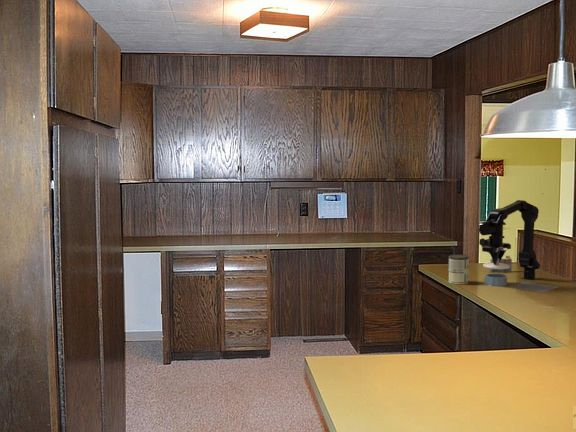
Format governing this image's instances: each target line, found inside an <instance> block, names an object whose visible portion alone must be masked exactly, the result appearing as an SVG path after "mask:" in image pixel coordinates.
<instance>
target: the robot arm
mask: <svg viewBox="0 0 576 432" xmlns="http://www.w3.org/2000/svg"><path fill="white" fill-rule="evenodd" d="M517 211H518V212H520V213H521V215H520V216H521V219H522V221H523V225H524V226H523V239H522V240H523V243H522V244H523V245H522V249H521V251H519V252H518V262H519V267H521V268H523V277H521V279H523V280H530V281H533V280H538V277H536V270H540V267H541V264H540V263H539V261H538V260H537V254H536V252H535V250H534V240H535V239H534V236H535V235H534V233H535V222H536V221H537V220H538V218H539V212H540V211H539V207H537V206H536V205H533V204H531V203H529V202H527V201H526V200H523V199H521V200H520V199H517V200H516V201H514V202H512V203H510V204H507V205H506V206H504V207H500V208H492V209H491V210H490V211H489V213H488V215H487V216H486V217H487V218H486V219H485V221H482V223H481V224H480V226H479V228H478V233H479V234H480V235H481V236H488V238H486V239H485V238H480V239H479V241H478V242H479V245H480V246H481V251H482V252H485V253H489V254H490V257H491V259H492V260H493V264H495V265H496V263H497V260H498V258H499V263H500V261H501V259H503V257H504V255H505V254H506V252H507V250H511V249H512V244H510V243H509V242H508V243H507V242H504V241H503V239H505V235H504V226H506V225H507V223H506V222H505V220H506V219H508V216H509V215H512V214H514V213H516V212H517Z"/></svg>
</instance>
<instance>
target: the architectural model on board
mask: <svg viewBox="0 0 576 432" xmlns="http://www.w3.org/2000/svg"><path fill="white" fill-rule="evenodd" d="M512 261H513V259H512V258H511V255H505V258H502V259H501V261H500V263H503V264H508V265H510V268H508V269H490V268H489V269H490V270H489V271H490V273H512V269H513V266H512V264H513V263H512ZM489 263H493V260H492V258H490V261H489Z"/></svg>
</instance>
